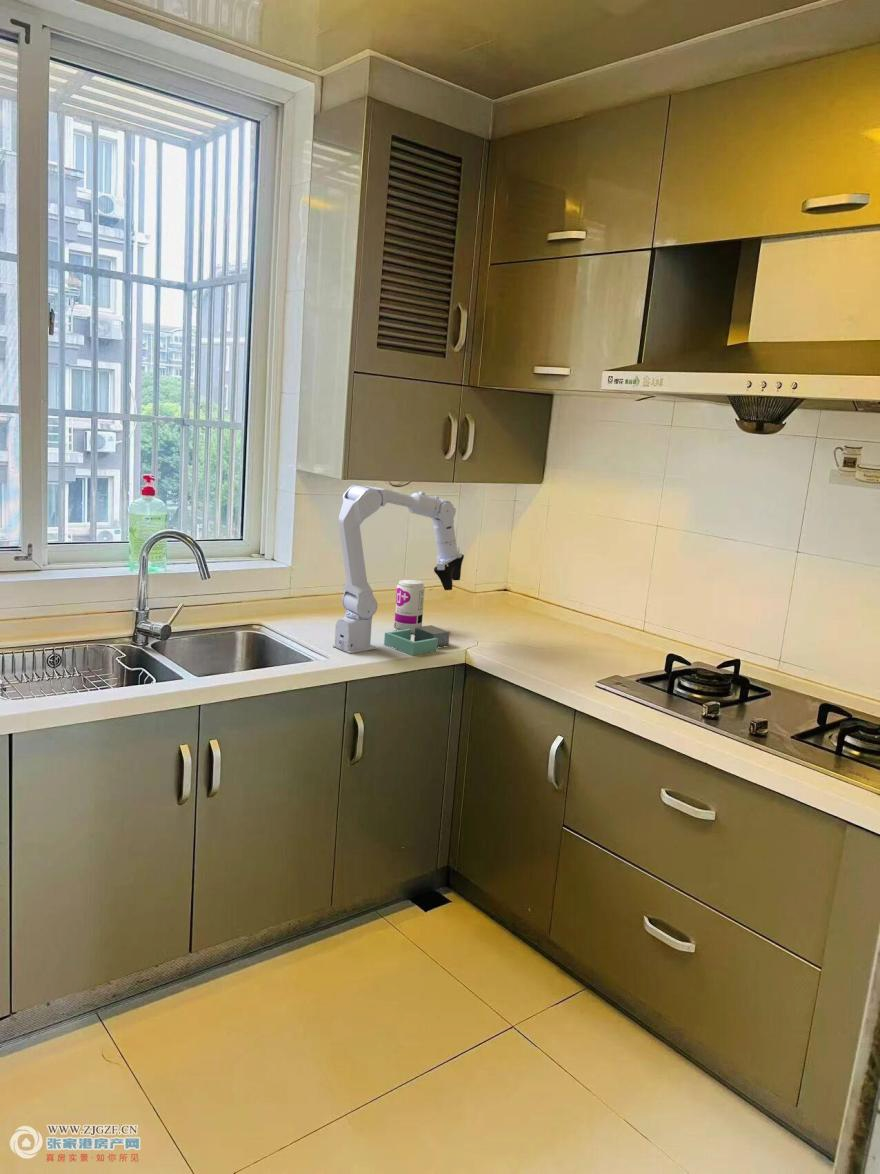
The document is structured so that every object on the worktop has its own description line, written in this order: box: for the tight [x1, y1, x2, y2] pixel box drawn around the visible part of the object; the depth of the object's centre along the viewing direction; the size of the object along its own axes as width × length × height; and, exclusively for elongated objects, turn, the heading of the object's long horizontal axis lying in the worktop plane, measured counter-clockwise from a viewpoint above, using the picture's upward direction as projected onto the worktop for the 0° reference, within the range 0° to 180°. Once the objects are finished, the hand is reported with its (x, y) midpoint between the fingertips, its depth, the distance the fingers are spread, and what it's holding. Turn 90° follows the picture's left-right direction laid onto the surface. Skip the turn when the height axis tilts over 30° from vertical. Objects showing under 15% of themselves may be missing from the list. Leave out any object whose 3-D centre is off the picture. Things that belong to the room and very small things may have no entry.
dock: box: [383, 629, 438, 656], centre depth 245 cm, size 9×12×4 cm
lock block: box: [413, 624, 450, 649], centre depth 250 cm, size 6×8×4 cm
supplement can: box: [393, 578, 425, 634], centre depth 262 cm, size 8×8×15 cm
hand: (452, 584), depth 255 cm, fingers open, 7 cm apart
